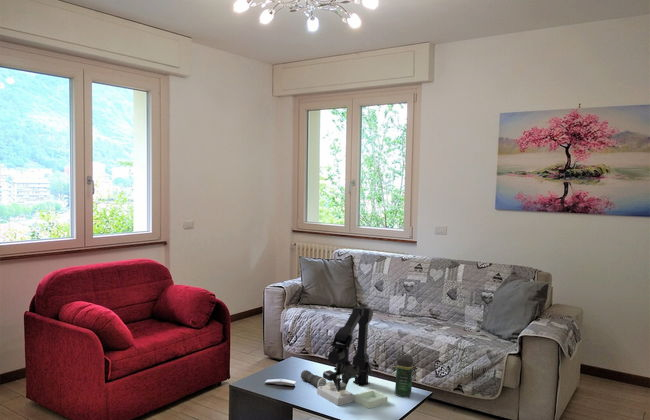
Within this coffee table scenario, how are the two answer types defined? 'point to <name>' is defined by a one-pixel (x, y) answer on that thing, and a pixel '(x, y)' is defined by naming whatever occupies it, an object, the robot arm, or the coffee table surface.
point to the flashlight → (313, 378)
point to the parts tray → (370, 399)
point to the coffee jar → (404, 376)
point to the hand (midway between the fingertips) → (341, 390)
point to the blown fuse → (341, 389)
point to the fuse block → (335, 395)
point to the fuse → (330, 386)
